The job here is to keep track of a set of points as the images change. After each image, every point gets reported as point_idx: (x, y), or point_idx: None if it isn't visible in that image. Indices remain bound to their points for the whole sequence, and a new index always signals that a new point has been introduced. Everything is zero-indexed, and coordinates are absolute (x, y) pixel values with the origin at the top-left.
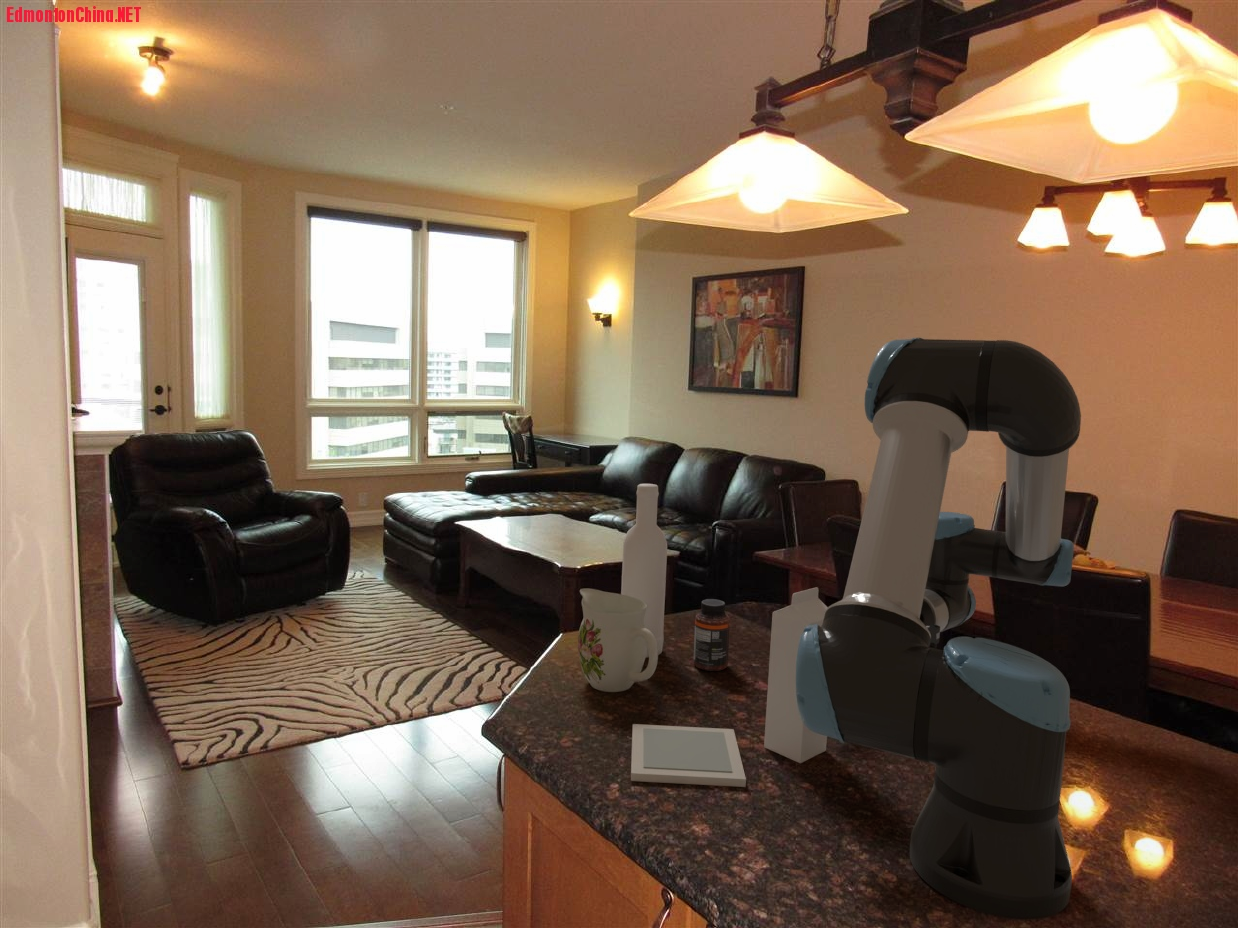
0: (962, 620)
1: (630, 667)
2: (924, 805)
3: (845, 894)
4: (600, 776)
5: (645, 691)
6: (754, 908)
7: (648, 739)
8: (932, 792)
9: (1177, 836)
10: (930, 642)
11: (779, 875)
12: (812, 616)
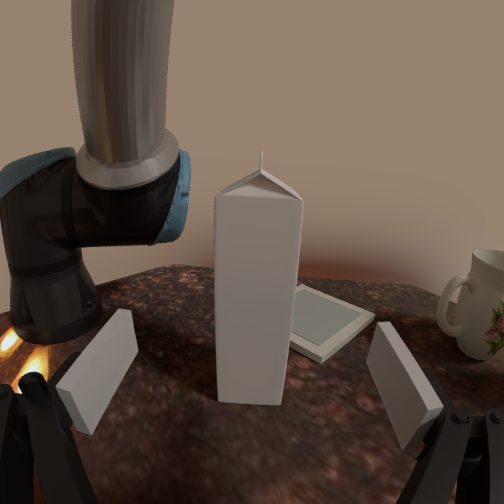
0: None
1: (458, 319)
2: (89, 280)
3: (135, 282)
4: (317, 285)
5: (456, 360)
6: (171, 266)
7: (340, 306)
8: (83, 264)
9: None
10: (5, 390)
11: (170, 279)
12: (232, 184)
